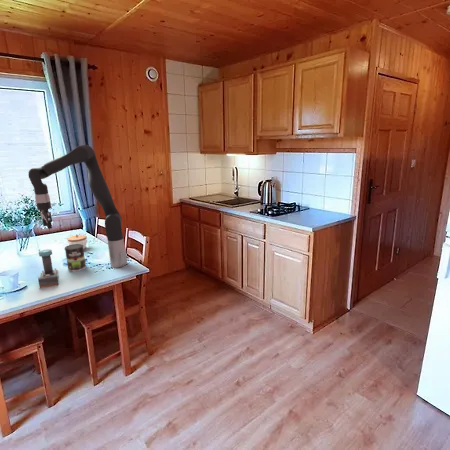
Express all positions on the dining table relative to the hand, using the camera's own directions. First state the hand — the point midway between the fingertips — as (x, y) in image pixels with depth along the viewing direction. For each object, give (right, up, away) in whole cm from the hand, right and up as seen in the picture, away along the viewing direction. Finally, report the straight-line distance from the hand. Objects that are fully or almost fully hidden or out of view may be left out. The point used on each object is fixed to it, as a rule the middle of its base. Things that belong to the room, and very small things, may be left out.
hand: (47, 227), depth 196 cm
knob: (+6, -27, -9) cm, 29 cm away
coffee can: (+17, -26, +3) cm, 31 cm away
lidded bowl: (+2, -16, +36) cm, 40 cm away
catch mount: (+8, -30, -13) cm, 34 cm away
